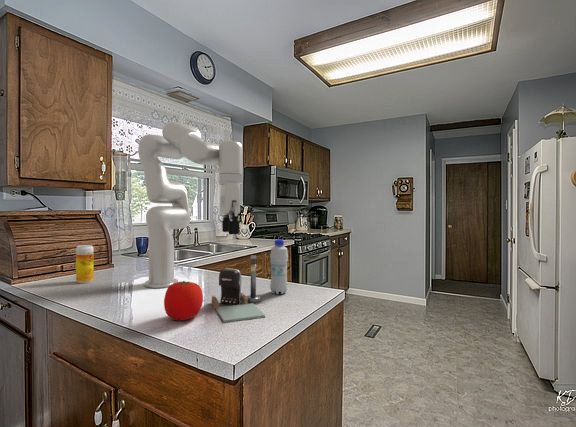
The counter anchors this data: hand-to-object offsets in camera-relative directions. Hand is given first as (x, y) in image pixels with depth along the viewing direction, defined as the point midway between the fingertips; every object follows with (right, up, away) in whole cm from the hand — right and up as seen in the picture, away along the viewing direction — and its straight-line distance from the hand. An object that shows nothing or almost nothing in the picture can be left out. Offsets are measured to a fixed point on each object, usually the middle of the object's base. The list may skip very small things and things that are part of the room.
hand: (230, 232), depth 102 cm
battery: (0, -24, +1) cm, 24 cm away
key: (+7, -22, +1) cm, 23 cm away
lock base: (+7, -23, +4) cm, 25 cm away
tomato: (-11, -24, -13) cm, 29 cm away
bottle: (+15, -23, +15) cm, 32 cm away
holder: (0, -23, +1) cm, 23 cm away
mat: (+4, -24, -8) cm, 25 cm away
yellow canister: (-65, -22, +28) cm, 74 cm away
